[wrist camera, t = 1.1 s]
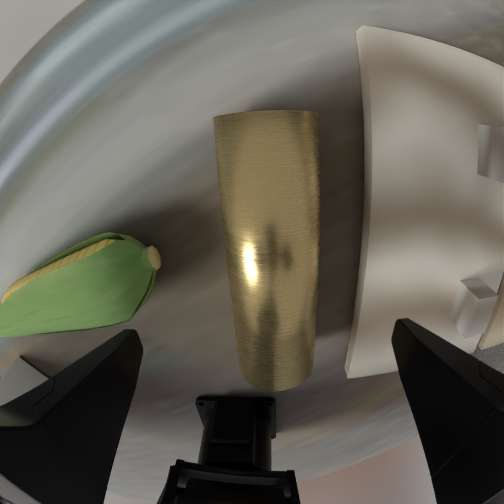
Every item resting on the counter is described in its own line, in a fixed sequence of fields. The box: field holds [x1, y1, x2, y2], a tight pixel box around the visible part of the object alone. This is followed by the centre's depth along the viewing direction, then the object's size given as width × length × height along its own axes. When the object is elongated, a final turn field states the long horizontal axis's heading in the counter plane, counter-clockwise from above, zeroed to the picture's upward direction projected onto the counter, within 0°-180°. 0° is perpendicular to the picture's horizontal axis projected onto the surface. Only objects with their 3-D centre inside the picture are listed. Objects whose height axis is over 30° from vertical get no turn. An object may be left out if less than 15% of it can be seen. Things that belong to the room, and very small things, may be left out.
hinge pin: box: [213, 110, 320, 391], centre depth 14 cm, size 14×4×4 cm, turn 4°
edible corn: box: [0, 233, 161, 337], centre depth 16 cm, size 5×20×5 cm
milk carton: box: [0, 356, 49, 406], centre depth 15 cm, size 7×7×19 cm
